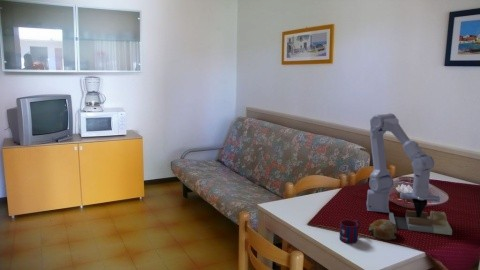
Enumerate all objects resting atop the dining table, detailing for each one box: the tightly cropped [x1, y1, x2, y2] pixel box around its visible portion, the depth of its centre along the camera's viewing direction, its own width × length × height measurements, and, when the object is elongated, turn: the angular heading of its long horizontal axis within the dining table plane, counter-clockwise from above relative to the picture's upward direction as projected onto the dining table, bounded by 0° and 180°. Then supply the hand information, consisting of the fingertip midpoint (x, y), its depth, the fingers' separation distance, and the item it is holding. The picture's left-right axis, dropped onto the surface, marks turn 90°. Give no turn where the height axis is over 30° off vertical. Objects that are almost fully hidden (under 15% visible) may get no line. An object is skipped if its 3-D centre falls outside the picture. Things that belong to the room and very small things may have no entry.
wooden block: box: [429, 210, 448, 226], centre depth 151 cm, size 5×5×4 cm
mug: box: [339, 219, 360, 245], centre depth 142 cm, size 7×10×7 cm
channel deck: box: [388, 209, 453, 236], centre depth 154 cm, size 22×12×4 cm, turn 73°
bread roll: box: [367, 218, 398, 241], centre depth 146 cm, size 10×10×8 cm
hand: (417, 216), depth 153 cm, fingers closed
